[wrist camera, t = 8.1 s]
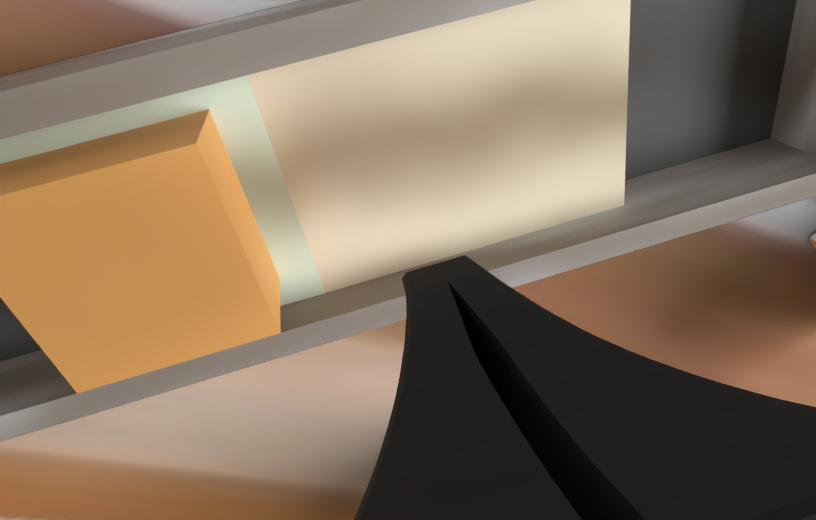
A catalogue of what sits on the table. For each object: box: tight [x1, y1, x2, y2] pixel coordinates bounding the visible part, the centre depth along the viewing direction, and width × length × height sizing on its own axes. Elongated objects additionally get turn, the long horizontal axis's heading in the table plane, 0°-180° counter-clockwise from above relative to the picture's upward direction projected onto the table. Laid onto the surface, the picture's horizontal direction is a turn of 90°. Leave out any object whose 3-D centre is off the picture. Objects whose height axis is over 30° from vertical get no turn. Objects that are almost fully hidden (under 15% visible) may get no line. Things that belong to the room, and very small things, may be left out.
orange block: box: [0, 109, 281, 393], centre depth 15 cm, size 6×6×3 cm
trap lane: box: [0, 0, 816, 442], centre depth 17 cm, size 10×36×4 cm, turn 102°
